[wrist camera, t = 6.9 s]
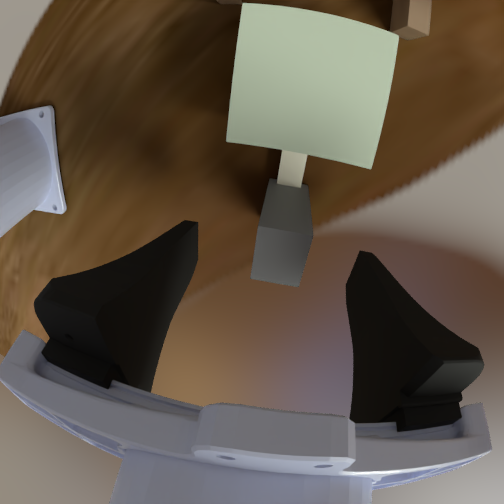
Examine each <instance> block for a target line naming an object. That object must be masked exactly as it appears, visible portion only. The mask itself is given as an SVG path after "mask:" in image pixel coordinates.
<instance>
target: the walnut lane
mask: <svg viewBox="0 0 504 504" xmlns="http://www.w3.org/2000/svg"><path fill="white" fill-rule="evenodd" d="M216 1H218V2H219V3H220V4H241V3H242V0H216ZM431 2H432V0H393V5H392V15H391V24H390V32H392V33H394V34H397V35H399V37H401V38H403V39H406V40H411V39H415V38H420V37H424V36H428V35H429V28H430V17H431Z"/></svg>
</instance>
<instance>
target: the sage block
mask: <svg viewBox="0 0 504 504" xmlns="http://www.w3.org/2000/svg"><path fill="white" fill-rule="evenodd" d="M398 39H399V35H397V34H394V33H392V32H389V31H386V30H383V29H380V28H377V27H374V26H371V25H368V24H365V23H361V22H358V21H354V20H351V19H347V18H343V17H339V16H335V15H331V14H326V13H321V12H316V11H311V10H305V9H299V8H292V7H285V6H277V5H267V4H253V3H243V5H242V11H241V18H240V25H239V32H238V40H237V47H236V55H235V63H234V71H233V80H232V89H231V98H230V107H229V117H228V127H227V137H226V142H232V143H240V144H247V145H254V146H261V147H268V148H274V149H280V150H282V155H281V161H280V167H279V173H278V179H271V178H270V179H269V183H268V187H267V191H266V196H265V200H264V204H263V208H262V212H261V216H260V221H259V225H258V231H257V238H256V244H255V251H254V257H253V264H252V271H251V277H250V278H251V279H255V280H261V281H267V282H272V283H278V284H284V285H290V286H296V287H299V283H300V280H301V277H302V273H303V270H304V267H305V263H306V260H307V256H308V253H309V249H310V245H311V242H312V239H313V228H312V218H311V208H310V199H309V190H308V185H304V184H302V179H303V174H304V169H305V164H306V159H307V155H312V156H317V157H322V158H326V159H331V160H335V161H339V162H344V163H348V164H352V165H356V166H360V167H364V168H368V169H371V168H372V164H373V161H374V157H375V153H376V149H377V145H378V141H379V137H380V133H381V129H382V125H383V121H384V116H385V112H386V107H387V103H388V98H389V93H390V88H391V83H392V77H393V72H394V66H395V60H396V53H397V47H398Z"/></svg>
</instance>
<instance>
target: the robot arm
mask: <svg viewBox="0 0 504 504" xmlns="http://www.w3.org/2000/svg"><path fill="white" fill-rule="evenodd" d="M43 113H44V115H43ZM33 210H39V211H46V212H52V213H58V214H63V213H64V212H65V211H66V203H65V198H64V192H63V187H62V181H61V175H60V168H59V161H58V153H57V144H56V133H55V119H54V109H53V107H52V106H51V105H48V106H43V107H38V108H34V109H29V110H25V111H21V112H17V113H13V114H10V115H6V116H3V117H0V238H1V237H2V236H3V235H4V234H5V233H6V232H7V231H8V230H10V229H11V228H12V227H13V226H14V225H15V224H17V223H18V222H19V221H20V220H21V219H23V218H24V217H25V216H26V215H27V214H29V213H30V212H31V211H33ZM197 261H198V222H193V221H187V220H185V221H183V222H181V223H180V224H178V225H176V226H175V227H173V228H172V229H170V230H169V231H167V232H166V233H164V234H162V235H161V236H159V237H158V238H156V239H155V240H153V241H151V242H150V243H148V244H146V245H144V246H143V247H141V248H139V249H138V250H136V251H134V252H132V253H130V254H128V255H126V256H124V257H121V258H119V259H117V260H115V261H112V262H109V263H107V264H104V265H102V266H99V267H96V268H93V269H90V270H87V271H83V272H80V273H76V274H72V275H67V276H62V277H58V278H52V279H51V280H50V282H49V283H48V284H47V285H46V287H45V288H44V289H43V290H42V292H41V293H40V294H39V295H38V297H37V298H36V299H35V301H34V308H35V312H36V315H37V317H38V319H39V320H40V322H41V324H42V326H43V327H44V329H45V331H46V332H47V334H48V335H49V337H50V339H49V340H48V342H47V344H46V343H45V342H44V341H43V340H42V339H40V338H39V337H37V336H35V335H33V334H31V333H29V332H27V331H26V330H22V332H21V333H20V335H19V336H18V338H17V339H16V341H15V342H14V344H13V345H12V347H11V348H10V350H9V352H8V353H7V355H6V356H5V358H4V360H3V361H2V363H1V365H0V381H1V382H2V383H3V384H4V385H5V386H6V387H7V388H8V389H9V390H10V391H11V392H12V393H13V394H15V396H17V397H18V398H19V399H20V400H21V401H22V402H23V403H24V404H26V405H27V406H28V407H30V408H31V409H33V410H34V411H36V412H37V413H39V414H40V415H42V416H43V417H45V418H47V419H48V420H50V421H51V422H53V423H55V424H56V425H58V426H59V427H61V428H63V429H64V430H66V431H68V432H70V433H71V434H73V435H75V436H77V437H79V438H80V439H82V440H84V441H86V442H88V443H90V444H92V445H94V446H96V447H98V448H100V449H102V450H104V451H106V452H108V453H111V454H113V455H115V456H117V457H120V458H122V459H123V461H122V463H121V467H120V470H119V473H118V476H117V479H116V482H115V485H114V489H113V492H112V496H111V499H110V502H109V504H371V503H372V490H375V489H382V488H387V487H392V486H397V485H401V484H406V483H410V482H414V481H418V480H422V479H426V478H430V477H433V476H436V475H439V474H443V473H446V472H449V471H453V470H455V469H457V468H460V467H462V466H464V465H466V464H468V463H470V462H472V461H474V460H476V459H478V458H480V457H482V456H484V455H485V454H487V453H489V452H491V450H492V446H491V440H490V434H489V430H488V425H487V420H486V416H485V411H484V407H483V403H481V402H480V403H475V404H470V405H466V406H463V407H461V408H460V406H459V402H460V401H462V394H461V392H462V391H463V390H464V389H465V388H466V387H468V386H469V385H470V384H471V383H472V382H473V381H474V380H475V379H476V378H477V377H478V376H479V375H480V374H481V372H482V370H483V368H484V362H483V359H482V357H481V354H480V351H479V349H478V348H477V347H476V346H474V345H472V344H470V343H468V342H467V341H465V340H464V339H462V338H460V337H459V336H457V335H456V334H455V333H453V332H452V331H450V330H449V329H447V328H446V327H445V326H443V325H442V324H441V323H439V322H438V321H437V320H436V319H435V318H433V317H432V316H431V315H430V314H429V313H428V312H426V311H425V310H424V309H423V308H422V307H421V306H420V305H419V304H418V303H417V302H416V301H415V300H414V299H413V298H412V297H411V296H410V295H409V294H408V293H407V292H406V290H405V289H404V288H403V287H402V286H401V285H400V284H399V283H398V281H397V280H396V279H395V278H394V277H393V276H392V275H391V273H390V272H389V271H388V270H387V269H386V267H385V266H384V265H383V264H382V263H381V262H380V261H379V259H378V258H377V257H376V256H375V255H374V254H372V253H370V252H365V251H359V254H358V257H357V259H356V262H355V264H354V267H353V269H352V271H351V274H350V277H349V278H348V281H347V283H346V305H347V311H348V317H349V324H350V330H351V337H352V344H353V360H354V361H353V364H354V365H353V366H354V367H353V371H354V372H353V392H352V404H351V412H350V419H348V418H347V417H345V416H340V415H333V414H322V413H307V412H295V411H285V410H276V409H269V408H261V407H255V406H247V405H242V404H230V403H216V404H209V405H207V406H204V407H202V406H197V405H193V404H189V403H185V402H181V401H177V400H174V399H170V398H167V397H163V396H160V395H156V394H153V393H151V389H152V385H153V380H154V376H155V372H156V368H157V364H158V360H159V357H160V353H161V350H162V347H163V343H164V340H165V337H166V334H167V331H168V328H169V325H170V322H171V320H172V318H173V315H174V313H175V311H176V309H177V307H178V305H179V303H180V301H181V299H182V297H183V295H184V293H185V291H186V289H187V287H188V285H189V283H190V280H191V278H192V276H193V273H194V270H195V267H196V264H197Z"/></svg>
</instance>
